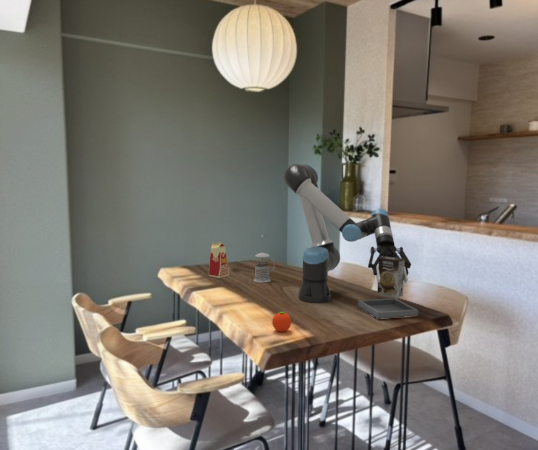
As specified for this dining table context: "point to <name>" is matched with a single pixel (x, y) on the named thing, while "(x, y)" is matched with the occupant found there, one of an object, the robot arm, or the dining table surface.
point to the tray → (387, 308)
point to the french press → (260, 266)
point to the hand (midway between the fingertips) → (392, 281)
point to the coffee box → (391, 277)
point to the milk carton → (218, 261)
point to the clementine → (281, 322)
